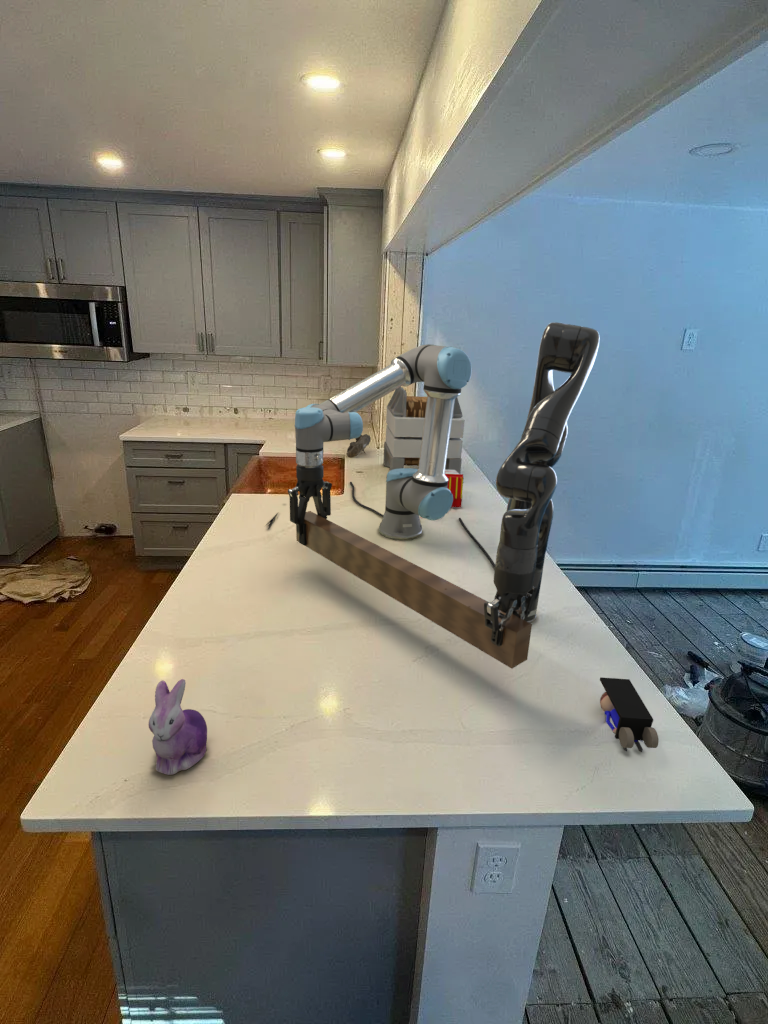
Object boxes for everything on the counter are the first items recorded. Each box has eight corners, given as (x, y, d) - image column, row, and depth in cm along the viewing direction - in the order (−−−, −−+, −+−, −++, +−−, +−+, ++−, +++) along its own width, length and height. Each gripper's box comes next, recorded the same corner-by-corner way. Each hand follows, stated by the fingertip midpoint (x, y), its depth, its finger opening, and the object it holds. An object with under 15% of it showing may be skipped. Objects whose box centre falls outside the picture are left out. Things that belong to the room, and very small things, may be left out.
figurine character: (654, 765, 103) (622, 703, 116) (665, 735, 100) (631, 675, 113) (618, 764, 103) (590, 702, 116) (628, 734, 99) (598, 674, 113)
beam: (296, 540, 167) (295, 514, 164) (310, 536, 170) (310, 510, 167) (511, 669, 111) (516, 632, 109) (527, 659, 115) (532, 624, 112)
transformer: (382, 463, 289) (386, 382, 275) (445, 464, 293) (451, 384, 279) (390, 482, 257) (394, 392, 243) (460, 483, 261) (468, 394, 247)
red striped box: (455, 465, 253) (467, 475, 224) (454, 495, 256) (465, 508, 227) (428, 465, 253) (437, 474, 224) (427, 494, 256) (435, 507, 226)
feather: (285, 507, 224) (287, 503, 224) (267, 531, 198) (270, 526, 197) (281, 504, 224) (284, 500, 223) (263, 528, 197) (265, 524, 197)
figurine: (156, 786, 92) (147, 710, 87) (149, 745, 100) (140, 673, 95) (215, 767, 96) (210, 694, 91) (204, 729, 105) (198, 660, 100)
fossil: (346, 440, 316) (367, 425, 311) (357, 453, 319) (378, 438, 314) (340, 453, 296) (362, 438, 291) (351, 468, 299) (374, 452, 294)
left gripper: (288, 473, 149) (291, 553, 157) (344, 462, 160) (343, 538, 168) (274, 466, 154) (277, 544, 162) (328, 456, 165) (329, 530, 173)
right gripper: (507, 581, 101) (497, 661, 108) (553, 561, 110) (542, 635, 116) (475, 566, 107) (467, 643, 113) (522, 548, 116) (512, 620, 122)
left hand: (311, 541), depth 165 cm, fingers closed on beam, 5 cm apart
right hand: (505, 639), depth 115 cm, fingers closed on beam, 5 cm apart
